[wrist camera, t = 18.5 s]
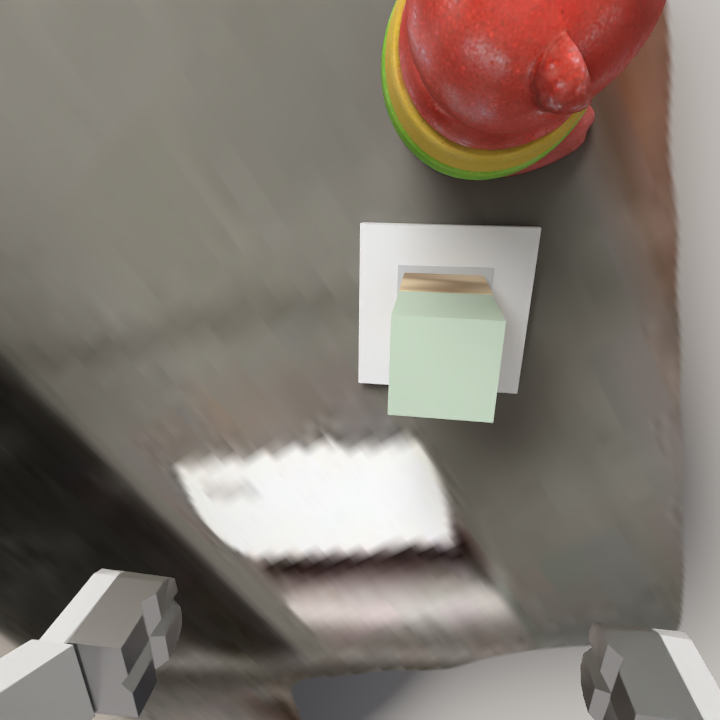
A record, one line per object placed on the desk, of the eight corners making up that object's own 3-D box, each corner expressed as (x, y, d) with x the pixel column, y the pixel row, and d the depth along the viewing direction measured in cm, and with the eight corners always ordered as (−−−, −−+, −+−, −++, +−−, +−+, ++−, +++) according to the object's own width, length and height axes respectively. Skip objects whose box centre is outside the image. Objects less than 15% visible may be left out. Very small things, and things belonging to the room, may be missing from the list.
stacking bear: (600, 139, 27) (861, 78, 10) (434, 217, 30) (434, 265, 13) (538, -70, 24) (766, -611, 8) (361, 38, 27) (246, -184, 10)
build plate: (360, 378, 34) (358, 383, 34) (362, 222, 30) (360, 223, 30) (515, 388, 33) (517, 394, 32) (538, 226, 29) (541, 228, 28)
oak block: (401, 345, 32) (395, 373, 27) (404, 272, 30) (398, 289, 26) (475, 350, 31) (483, 379, 27) (483, 275, 30) (493, 293, 25)
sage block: (395, 374, 27) (387, 414, 23) (398, 290, 26) (391, 315, 21) (482, 380, 27) (493, 422, 22) (492, 294, 25) (506, 320, 20)
